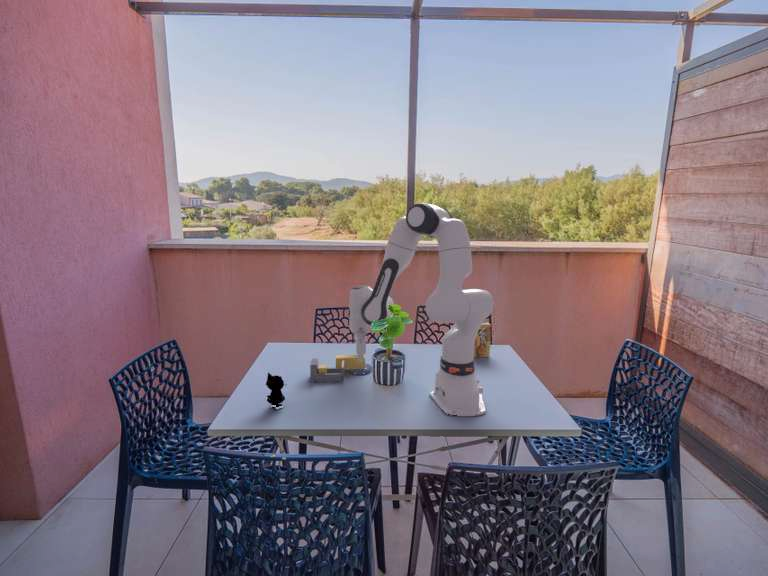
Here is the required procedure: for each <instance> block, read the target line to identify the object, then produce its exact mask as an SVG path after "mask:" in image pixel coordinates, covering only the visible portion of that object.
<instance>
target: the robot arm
mask: <svg viewBox="0 0 768 576" xmlns="http://www.w3.org/2000/svg"><path fill="white" fill-rule="evenodd" d="M425 236H426V237H434V238H435V239H436V241H437V247H438V248H437V249H438V259H439V279H438V282H437V285H436V288H435V289H434V290H433V292H432V293H431V294H430V295H429V296H428V297H427V300H426V302H425V312H426V315H427V317H428V318H429V320H431V321H432V322H434V323H440V324H441V323H442V324H451V323H453V325H452V327H451V328H450V329H448V331H446V332H445V333H444V335H443V337H442V345H441V347H442V348H441V349H442V350H441V356H440V360H439V367H440V368H439V370H438V371H437V372H435V379H434V389H433V390H432V391H430V392H429V397H430V398H431V399H432V400H433V401H434V403H436V405H437V406H438V407H439V408H440V409H441V411H442V410H443V411H444V412H443V411H442V412H443V413H444V414H445V413H446V414H445V415H448V414H450V415H449V416H452V415H457V416H456V417H475V416H476V415H477V416H481V415H484V414H486V413H487V412H486V411H487V410H486V406H485V403H484V399H483V396H482V394H484V387H483V386H479V385H478V384H479V383H480V379H477V372H476V371H475V367H476V364H475V358H473V355H474V345H475V339H476V335H477V333H478V330H479V328H480V326H481V324H482V323H484V321H485V320H486V319H487V318H488V317H489V316H490V315H492V313H493V311H494V306H495V303H494V298H493V296H492V294H491V293H490V292H489V291H488V290H486V289H485V290H484V289H480V288H469V289H467V288H466V289H463V284H464V281H465V279H466V278H468V277H469V276H470V275H471V274H472V272H473V257H472V249H471V241H470V236H469V233H468V229H467V226H466V223H465V222H464V221H463V220H462V219H458V218H454V217H453V215H452V214H451V213H450V211H448V210H447V209H445V208H443V207H440V206H438V205H436V204H432V203H427V202H417V203H414V204H412V205H411V206H410V207H409V208H408V209H407V212H406V214H405V216H401V217H399V218H398V219H397V220H396V223H395V224H394V226H393V229H392V230H391V232H390V235H389V237H388V241H387V244H386V247H385V252H384V256H383V260H382V264H381V267H380V271H379V274H378V276H377V278H376V282H375V284H374V286H373V288H372V287H371V286H369V285H366V284H364V285H363V284H362V285H359V286H358V285H357V286H354V287H353V288H351V290H350V292H349V301H348V302H349V304H348V309H349V311H350V312H349V316H348V318H349V319H348V320H349V325H348V326H349V330H350V331H351V332H352V334H353V335H354V338H355V351H356V355H358V357H359V362H363V355H365V354H366V351H367V344H366V343H367V338H366V337H367V336H366V335H367V334H368V333H369V331H371V330H370V325H371V323H372V322H373V320H381V319H384V318H386V317H388V316H389V317H390V316H391V315H392V314H391V312H390V310H389V309H388V308H389V305H396V304H395V301H394V299H393V298H392V297H391V296H390V294H391V292H392V289H393V286H394V284H395V282H396V280H397V278H398V277H399V276H400V275H401V273H402V272H403V271H404V270H405V269H407V268H408V267H409V265H410V263H411V262H412V259H413V258H414V256H415V254H416V250H417V247H418V244H419V242H420V240H421V239H422V238H423V237H425ZM389 317H388V318H389ZM477 416H476V417H477Z"/></svg>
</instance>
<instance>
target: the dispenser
mask: <svg viewBox="0 0 768 576" xmlns="http://www.w3.org/2000/svg"><path fill="white" fill-rule="evenodd" d="M309 365H310V366H309V368H310V375H309V376H310V382H311V381H343V382H345V375H344V374H345V370H344V361H342V368H336V367H328V365H327V364H319V358H311V361H310V364H309Z"/></svg>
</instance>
